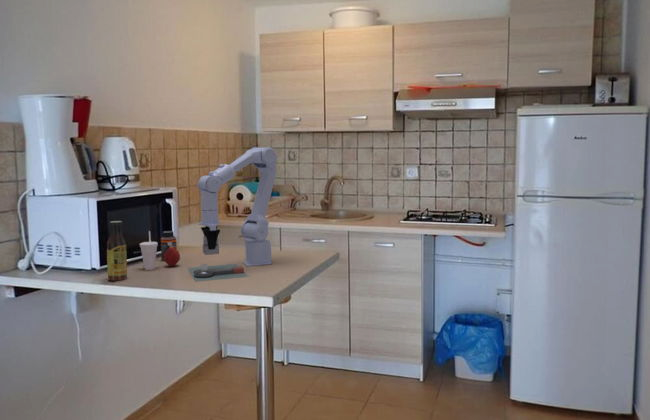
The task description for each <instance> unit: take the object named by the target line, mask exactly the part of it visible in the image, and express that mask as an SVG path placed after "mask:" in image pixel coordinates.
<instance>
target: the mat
mask: <svg viewBox="0 0 650 420" xmlns="http://www.w3.org/2000/svg"><path fill="white" fill-rule="evenodd" d="M232 267H240V266H239V265H238V264H237V263H226V264H216V265H207V269H213V270H222V269H232ZM187 269H188V271H189V273H190V275H191V277H192V279H193V280H194V282H207V281H216V280H217V281H218V280H227V279H237V278H238V279H239V278H247V277H249V275H248V274H247V273H246V272H245V271H244V273H239V274H226V275H215V276H213V277H210V278H195V277H194V271H196V270H200V269H201V266H194V267H193V266H192V267H187Z"/></svg>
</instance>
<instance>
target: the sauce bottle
mask: <svg viewBox="0 0 650 420" xmlns="http://www.w3.org/2000/svg"><path fill="white" fill-rule="evenodd" d="M109 229H110V233H109V234H110V235H109V237H108V239H107V241H106V262H107V264H106V265H107V268H106V269H107V279H108V281H112V282H115V281H116V282H119V281H124V280H126V279H127V278H128V276H127V275H128V261H127V259H128V258H127V257H128V256H127V244H126V241H125V238H124V235H123V221H122V220H113V221H109Z"/></svg>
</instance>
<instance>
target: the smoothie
mask: <svg viewBox="0 0 650 420" xmlns="http://www.w3.org/2000/svg"><path fill="white" fill-rule="evenodd" d="M151 236H152V235H151V231H150V230H148V241H143V242H141V243H139V248H140V251H141V256H142V257H141V258H142V261H143V266H144V270H146V271H147V270H148V271H152V270H156V264H157V263H156V262H157V253H158V252H157V251H158V246H159V244H158V243H159V242H157V241H152V240H151Z"/></svg>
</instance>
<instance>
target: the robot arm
mask: <svg viewBox="0 0 650 420" xmlns="http://www.w3.org/2000/svg"><path fill="white" fill-rule="evenodd" d="M277 161H278V154H277V153H276V150H275V149H274V148H273V147H270V146H269V147H267V146H266V147H258V146H255V147H251V148H250V149H248V150H246V151H245V153H243V154H242V155H240V156H239V157H238V158H236V159H235V160H234V161H233V162H231V163H230V164H227V163H224V164H223V163H220V164H219V165H218V168H216V169H215V170H213V171H212V170H211V171H209V172H208V175H203V176H201V177H200V178H199V179H198V183H196V185H197V189H198V190H199V193H200V207H201V208H200V209H201V221H200V222H198V225H199V226H201V227H200V229H201V232H202V234H203V237H204V236H206V238H207V243H208V248H209V250H212V249H215V248H216V242H217V237H218V238H219V234H220V233H221V229H218V225H219V224H220V221H219V201H218V199H219V198H218V197H219V196H218V194H219V193H218V192H219V191H220V190H221V187H222V186H223V185H224V184H226V183H228V182H229V181H230V180H232V179H234V177H235V173H236V172H238V171H240V170H242V169H244V168H245V167H246V166H248V165H250V164H252V165H253V166H254V167H256V169H257V170H258V171H259V172H260V177H259V181H258V184H257V190H256V192H255V195H254V196H255V197H254V200H253V205H252V209H251V213H250V214H249V215H248V216H246V217H245V220H244V223H243V224H242V225H241V228H240V232H241V236H242V237H243V239H244V242H245V243H244V245H245V246H244V247H245V260H243V261H242V262H243V263H244V265H245V266H246V267H250V266H251V267H252V266H262V265H263V266H265V265H272V243H271V241H270V240H269V239H266V238H267V237H268V235H269V224H270V222H269V221H268V219H267V218H266V216H267V213H268V212H267V211H268V207H269V205H270V199H271V196H272V191H273V187H274V183H275V180H276V178H277V177H276V176H277Z"/></svg>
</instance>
